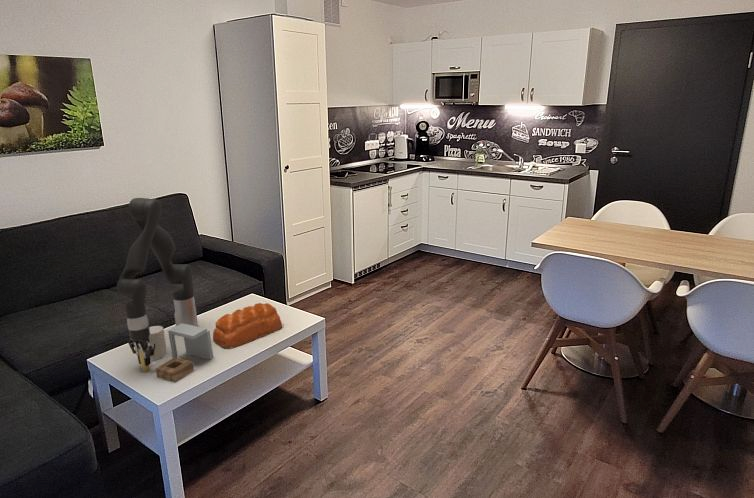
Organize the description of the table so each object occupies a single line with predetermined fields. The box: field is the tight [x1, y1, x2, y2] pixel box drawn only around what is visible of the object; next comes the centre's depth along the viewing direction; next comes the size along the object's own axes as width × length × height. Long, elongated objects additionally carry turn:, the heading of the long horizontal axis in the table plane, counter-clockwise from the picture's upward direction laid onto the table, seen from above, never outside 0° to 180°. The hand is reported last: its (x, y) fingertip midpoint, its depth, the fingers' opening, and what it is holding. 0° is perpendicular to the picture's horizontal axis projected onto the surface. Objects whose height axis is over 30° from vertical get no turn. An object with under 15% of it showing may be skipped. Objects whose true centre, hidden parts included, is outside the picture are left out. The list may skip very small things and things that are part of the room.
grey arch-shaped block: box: [167, 323, 214, 361], centre depth 212 cm, size 14×9×14 cm, turn 64°
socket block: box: [155, 357, 195, 383], centre depth 203 cm, size 10×10×4 cm
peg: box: [138, 348, 151, 373], centre depth 206 cm, size 3×3×10 cm
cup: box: [149, 325, 168, 361], centre depth 217 cm, size 8×8×12 cm
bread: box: [212, 302, 283, 349], centre depth 235 cm, size 16×31×13 cm, turn 136°
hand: (145, 363), depth 206 cm, fingers closed on peg, 3 cm apart
